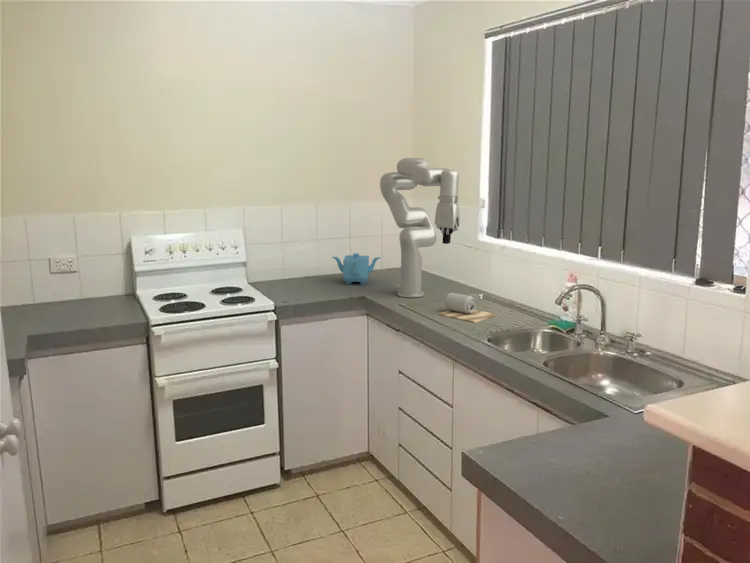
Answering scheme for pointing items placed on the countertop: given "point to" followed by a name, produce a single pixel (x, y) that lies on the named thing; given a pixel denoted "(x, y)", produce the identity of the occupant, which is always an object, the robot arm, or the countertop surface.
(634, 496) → the countertop surface
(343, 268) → the teakettle
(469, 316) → the mat
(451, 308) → the can
